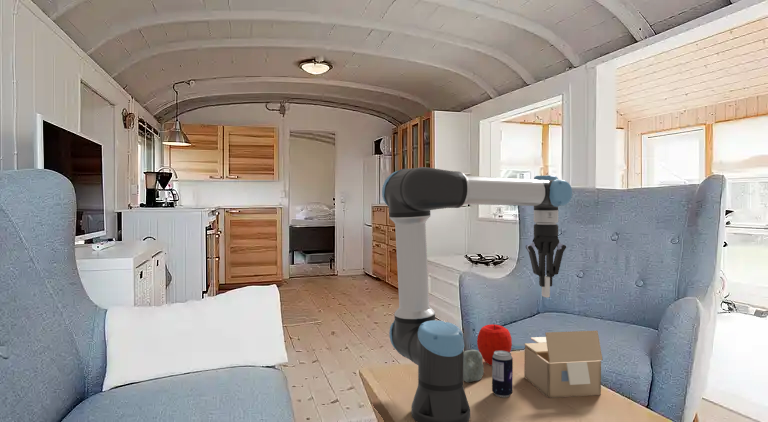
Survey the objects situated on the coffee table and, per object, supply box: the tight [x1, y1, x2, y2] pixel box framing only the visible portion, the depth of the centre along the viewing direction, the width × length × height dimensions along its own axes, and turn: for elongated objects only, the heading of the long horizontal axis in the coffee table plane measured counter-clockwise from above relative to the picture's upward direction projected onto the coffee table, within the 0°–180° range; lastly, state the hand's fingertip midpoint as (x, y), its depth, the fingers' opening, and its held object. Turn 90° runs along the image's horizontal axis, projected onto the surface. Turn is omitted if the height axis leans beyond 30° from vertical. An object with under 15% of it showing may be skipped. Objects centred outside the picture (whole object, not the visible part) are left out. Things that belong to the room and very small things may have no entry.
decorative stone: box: [463, 349, 485, 383], centre depth 153 cm, size 13×11×10 cm
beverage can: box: [491, 351, 514, 398], centre depth 139 cm, size 6×6×12 cm
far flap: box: [524, 336, 548, 353], centre depth 153 cm, size 16×14×1 cm
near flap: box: [545, 330, 603, 385], centre depth 137 cm, size 16×14×1 cm
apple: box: [476, 324, 513, 367], centre depth 165 cm, size 12×12×13 cm
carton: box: [523, 345, 602, 399], centre depth 146 cm, size 16×16×10 cm
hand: (545, 296), depth 156 cm, fingers closed
